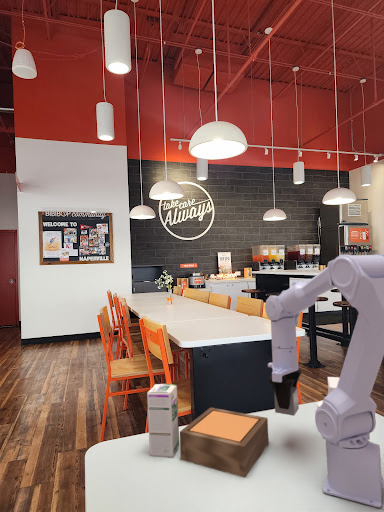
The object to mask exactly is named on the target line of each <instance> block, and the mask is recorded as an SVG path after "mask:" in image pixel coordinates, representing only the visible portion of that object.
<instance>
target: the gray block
mask: <svg viewBox="0 0 384 512" xmlns="http://www.w3.org/2000/svg"><path fill="white" fill-rule="evenodd" d="M273 392H274V413H276V414H282V415H289V416H296V414H297V413H298V412H299V409H300V407H299V388H298V387H292V389H291V395H290V405H289V409H282V408H279V405H278V402H277V398H276V394H275V391H274V390H273Z"/></svg>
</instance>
